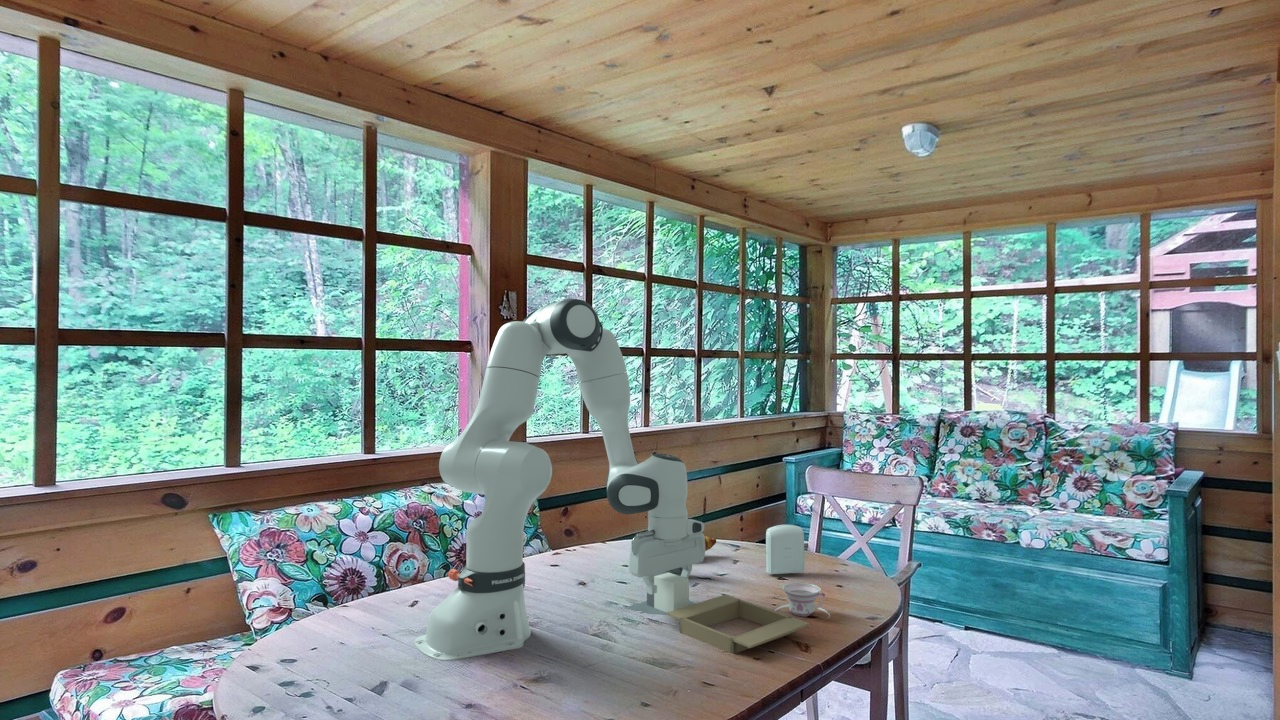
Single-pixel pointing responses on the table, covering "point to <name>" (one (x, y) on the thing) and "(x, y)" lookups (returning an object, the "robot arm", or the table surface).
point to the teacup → (802, 598)
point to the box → (669, 592)
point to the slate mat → (649, 608)
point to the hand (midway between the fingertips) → (667, 588)
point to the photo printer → (784, 549)
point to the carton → (729, 608)
